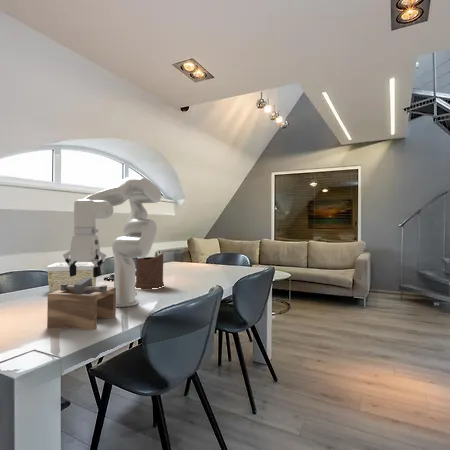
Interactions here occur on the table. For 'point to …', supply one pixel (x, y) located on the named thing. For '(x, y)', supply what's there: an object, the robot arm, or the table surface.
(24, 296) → the table surface
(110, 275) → the camera
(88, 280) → the grey piece
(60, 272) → the storage basket
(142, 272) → the brown woven bin
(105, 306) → the stand
